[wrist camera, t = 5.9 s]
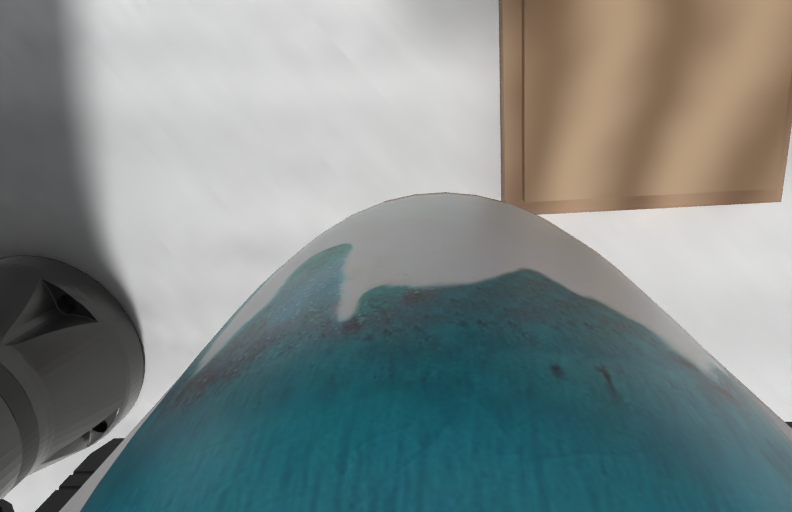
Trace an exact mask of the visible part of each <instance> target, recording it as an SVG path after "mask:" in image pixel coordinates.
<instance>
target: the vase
mask: <svg viewBox="0 0 792 512" xmlns="http://www.w3.org/2000/svg"><path fill="white" fill-rule="evenodd" d="M80 512H792V441H791V440H790V439H789V438H788V437H787V435H786V434H785V433H784V432H783V431H782V430H781V429H780V427H779V426H778V425H777V424H776V423H775V422H774V421H773V419H772V418H771V417H770V416H769V415H768V414H767V413H766V412H765V411H764V410H763V409H762V407H761V406H760V405H759V404H758V403H757V402H756V401H755V400H754V399H753V398H752V397H751V396H750V395H749V394H748V393H747V392H746V391H745V390H744V389H743V388H742V387H741V385H740V384H739V383H738V382H737V381H736V380H735V379H734V378H733V377H732V376H731V375H730V374H729V373H728V372H727V371H726V370H725V369H724V368H723V367H722V366H721V365H720V364H719V363H718V362H717V361H716V360H715V359H714V358H713V357H712V356H711V355H710V354H709V353H708V352H707V351H706V350H705V349H704V348H703V347H702V346H701V345H700V344H699V343H698V342H697V341H696V340H695V339H694V338H693V337H692V336H691V335H690V334H689V333H688V332H686V331H685V330H684V329H683V328H682V327H681V326H680V325H679V324H678V323H677V322H676V321H675V320H674V319H673V318H672V317H670V316H669V315H668V314H667V313H666V312H665V311H664V310H663V309H662V308H661V307H659V306H658V305H657V304H656V303H655V302H654V301H653V300H652V299H651V298H650V297H648V296H647V295H646V294H645V293H644V292H643V291H642V290H641V289H640V288H638V287H637V286H636V285H635V284H634V283H633V282H632V281H631V280H630V279H628V278H627V277H626V276H625V275H624V274H623V273H622V272H621V271H620V270H618V269H617V268H616V267H615V266H614V265H612V264H611V263H610V262H609V261H607V260H606V259H605V258H604V257H602V256H601V255H600V254H598V253H597V252H596V251H594V250H593V249H591V248H590V247H588V246H587V245H585V244H584V243H582V242H581V241H579V240H578V239H576V238H574V237H573V236H571V235H570V234H568V233H566V232H565V231H563V230H562V229H560V228H559V227H557V226H555V225H554V224H552V223H551V222H549V221H547V220H545V219H544V218H542V217H540V216H537V215H535V214H533V213H530V212H528V211H526V210H523V209H521V208H519V207H516V206H514V205H512V204H509V203H506V202H502V201H498V200H494V199H490V198H486V197H482V196H478V195H470V194H459V193H447V192H443V193H428V194H415V195H411V196H406V197H402V198H397V199H393V200H389V201H385V202H383V203H380V204H378V205H375V206H373V207H370V208H368V209H365V210H363V211H360V212H358V213H356V214H353V215H351V216H350V217H348V218H346V219H345V220H343V221H342V222H340V223H338V224H337V225H335V226H333V227H332V228H330V229H328V230H327V231H325V232H324V233H322V234H321V235H319V236H318V237H316V238H315V239H314V240H312V241H311V242H310V243H309V244H307V245H306V246H305V247H304V248H302V249H301V250H300V251H299V252H298V253H297V254H295V255H294V256H293V257H292V258H291V259H290V260H288V261H287V262H286V263H285V264H284V265H283V266H281V267H280V268H279V269H278V270H277V271H276V272H275V273H274V274H273V275H271V276H270V277H269V278H268V279H267V280H266V281H265V282H264V283H263V284H262V285H261V286H260V287H259V288H258V289H257V290H256V291H255V292H254V293H253V294H252V295H251V296H250V297H249V298H248V299H247V300H246V302H245V303H244V304H243V305H242V306H241V307H240V308H239V309H238V310H237V311H236V312H235V313H234V314H233V315H232V317H231V318H230V319H229V320H228V321H227V322H226V324H225V325H224V326H223V327H222V328H221V329H220V331H219V332H218V333H217V334H216V335H215V336H214V337H213V339H212V340H211V341H210V342H209V343H208V344H207V346H206V347H205V348H204V349H203V350H202V351H201V352H200V354H199V355H198V356H197V357H196V359H195V360H194V361H193V362H192V363H191V365H190V366H189V367H188V368H187V370H186V371H185V372H184V373H183V374H182V376H181V377H180V378H179V379H178V381H177V382H176V383H175V384H174V385H173V387H172V388H171V389H170V390H169V392H168V393H167V394H166V395H165V397H164V398H163V399H162V400H161V402H160V403H159V404H158V405H157V407H156V408H155V409H154V410H153V412H152V413H151V414H150V415H149V417H148V418H147V419H146V420H145V422H144V423H143V424H142V425H141V427H140V428H139V429H138V430H137V432H136V433H135V434H134V435H133V437H132V438H131V440H130V441H129V442H128V444H127V445H126V446H125V448H124V449H123V450H122V452H121V453H120V455H119V456H118V457H117V459H116V460H115V461H114V463H113V464H112V466H111V467H110V468H109V470H108V471H107V472H106V474H105V475H104V477H103V478H102V479H101V481H100V482H99V483H98V485H97V486H96V488H95V489H94V491H93V492H92V494H91V495H90V497H89V498H88V500H87V502H86V503H85V505H84V506H83V508H82V509H81V511H80Z"/></svg>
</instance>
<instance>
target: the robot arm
mask: <svg viewBox="0 0 792 512" xmlns="http://www.w3.org/2000/svg"><path fill="white" fill-rule="evenodd" d="M711 356H712V355H711ZM712 357H713V356H712ZM713 358H714V357H713ZM714 359H715V358H714ZM715 360H716V359H715ZM716 361H717V360H716ZM717 362H718V361H717ZM718 363H719V362H718ZM719 364H720V363H719ZM720 365H721V364H720ZM721 366H722V367H723V368H724V369H725V370H726V371H727V372H728V373H729V374H730V375H731V376H732V377H733V378H734V379H735V380H736V381H737V382H738V383H739V384H740V385H741V387H742V388H743V389H744V390H745V391H746V392H747V393H748V394H749V395H750V396H751V397H752V398H753V399H754V400H755V401H756V402H757V403H758V404H759V405H760V406H761V407H762V409H763V410H764V411H765V412H766V413H767V414H768V415H769V416H770V417H771V418H772V419H773V421H774V422H775V423H776V424H777V425H778V426H779V427H780V429H781V430H782V431H783V432H784V433H785V434H786V435H787V437H788V438H789V439H790V440H791V441H792V422H784V421H783V420H782V419H781V418H780V417H779V416H777V415H776V414H775V413H774V412H773V411H772V410H771V409H770V408H769V407H768V406H766V405H765V404H764V403H763V402H762V401H761V400H760V399H759V398H758V397H757V396H756V395H754V394H753V393H752V392H751V391H750V390H749V389H748V388H747V387H746V386H745V385H743V384H742V383H741V382H740V381H739V380H738V379H737V378H736V377H735V376H734V375H732V374H731V373H730V372H729V371H728V370H727V369H726V368H725V367H724V366H723V365H721ZM143 375H144V361H143V354H142V348H141V345H140V341H139V338H138V335H137V333H136V331H135V328H134V326H133V324H132V322H131V321H130V319H129V317H128V316H127V314H126V313H125V311H124V310H123V308H122V307H121V306H120V304H119V303H118V302H117V301H116V300H115V298H114V297H113V296H112V295H111V294H110V293H109V292H108V291H107V290H106V289H104V288H103V287H102V286H101V285H100V284H99V283H97V282H96V281H95V280H93V279H92V278H90V277H89V276H87V275H86V274H84V273H82V272H81V271H79V270H77V269H75V268H73V267H71V266H68V265H66V264H64V263H61V262H58V261H55V260H51V259H47V258H42V257H35V256H13V257H7V258H2V259H0V512H14V509H13V506H12V504H11V503H9V502H7V501H5V500H3V499H2V498H3V497H4V496H6V494H7V493H8V492H10V491H11V490H12V489H13V488H14V487H15V486H16V485H17V484H18V483H19V482H20V481H21V480H23V479H24V478H25V477H26V476H28V475H30V474H32V473H34V472H36V471H38V470H40V469H42V468H45V467H47V466H49V465H51V464H53V463H55V462H57V461H59V460H62V459H64V458H66V457H68V456H70V455H72V454H74V453H77V452H79V451H81V450H83V449H85V448H87V447H89V446H91V445H93V444H94V443H96V442H97V441H99V440H100V439H102V438H103V437H104V436H106V435H107V434H108V433H109V432H110V431H111V430H112V429H113V428H114V427H115V426H116V425H117V424H118V423H119V422H120V421H121V420H122V419H123V418H124V417H125V416H126V415H127V414H128V412H129V411H130V410H131V409H132V407H133V406H134V404H135V402H136V400H137V398H138V396H139V393H140V390H141V387H142V382H143ZM177 381H178V380H177ZM177 381H176V382H177ZM176 382H175V383H176ZM175 383H174V384H175ZM172 387H173V386H172ZM172 387H171V388H172ZM171 388H170V389H171ZM170 389H169V390H170ZM169 390H168V391H167V392H166V393H165V395H166V394H167V393H168V392H169ZM165 395H164V396H163V397H162V398H161V399H160V400H159V401H158V402H157V403H156V405H155V406H154V407H153V408H152V409H151V410H150V411H149V412H148V413H147V415H146V416H145V417H144V418H143V419H142V420H141V421H140V422H139V423H138V425H137V426H136V427H135V428H134V429H133V430H132V431H131V432H130V433H129V435H128V436H127V437H126V438H114V439H112V440H111V441H109V442H108V443H106V444H105V445H103V446H102V447H100V448H99V449H97V450H96V451H94V452H93V453H91V454H90V455H89V456H88V457H87V458H86V459H85V460H84V461H83V462H82V463H81V464H80V465H79V466H78V467H77V468H76V469H75V471H74V473H73V475H70V476H69V477H68V478H67V479H66V480H65V481H64V482H63V483H62V484H61V485H60V486H59V490H55V491H54V492H53V493H52V494H51V496H50V497H49V498H48V499H47V500H46V501H45V502H44V503H43V504H42V505H41V506H40V507H39V508H38V509H37V510H36V511H35V512H80V511H81V509H82V508H83V506H84V505H85V503H86V502H87V500H88V498H89V497H90V495H91V494H92V492H93V491H94V489H95V488H96V486H97V485H98V483H99V482H100V481H101V479H102V478H103V477H104V475H105V474H106V472H107V471H108V470H109V468H110V467H111V466H112V464H113V463H114V461H115V460H116V459H117V457H118V456H119V455H120V453H121V452H122V450H123V449H124V448H125V446H126V445H127V444H128V442H129V441H130V440H131V438H132V437H133V435H134V434H135V433H136V432H137V430H138V429H139V428H140V427H141V425H142V424H143V423H144V422H145V420H146V419H147V418H148V417H149V415H150V414H151V413H152V412H153V410H154V409H155V408H156V407H157V405H158V404H159V403H160V402H161V400H162V399H163V398H164V397H165Z"/></svg>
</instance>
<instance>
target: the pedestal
mask: <svg viewBox="0 0 792 512" xmlns="http://www.w3.org/2000/svg"><path fill="white" fill-rule="evenodd" d="M499 48H500V126H501V201H502V202H506V203H509V204H512V205H514V206H516V207H519V208H521V209H523V210H526V211H528V212H530V213H533V214H535V215H539V214H558V213H577V212H596V211H615V210H635V209H654V208H673V207H692V206H711V205H731V204H750V203H769V202H781V199H782V192H783V184H784V177H785V170H786V163H787V155H788V148H789V141H790V134H791V127H792V0H499Z"/></svg>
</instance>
